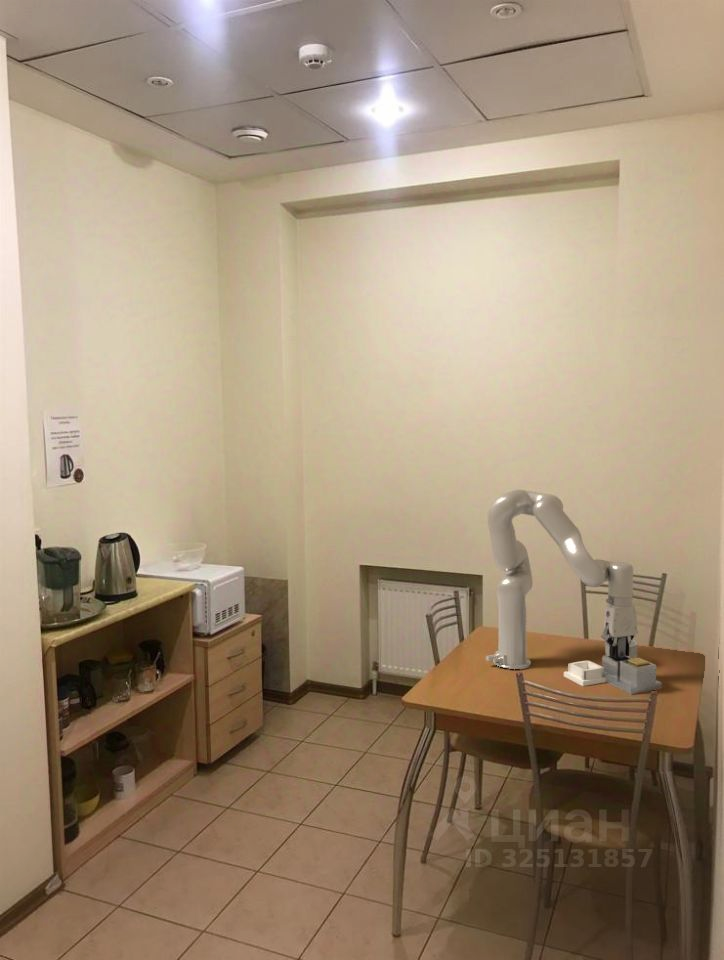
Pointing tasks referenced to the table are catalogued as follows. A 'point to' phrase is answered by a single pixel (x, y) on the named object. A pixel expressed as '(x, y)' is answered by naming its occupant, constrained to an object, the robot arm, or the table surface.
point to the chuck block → (630, 675)
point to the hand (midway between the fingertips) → (619, 655)
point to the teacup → (631, 648)
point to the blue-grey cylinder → (621, 649)
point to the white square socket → (585, 673)
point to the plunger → (638, 662)
